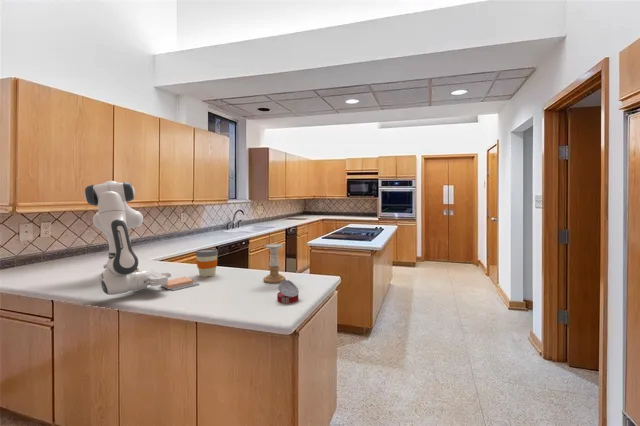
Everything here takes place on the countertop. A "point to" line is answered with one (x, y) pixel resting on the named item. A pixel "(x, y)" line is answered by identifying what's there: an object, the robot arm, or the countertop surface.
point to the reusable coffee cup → (207, 261)
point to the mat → (184, 286)
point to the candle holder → (274, 265)
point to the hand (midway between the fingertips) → (169, 274)
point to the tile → (178, 282)
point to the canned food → (287, 292)
